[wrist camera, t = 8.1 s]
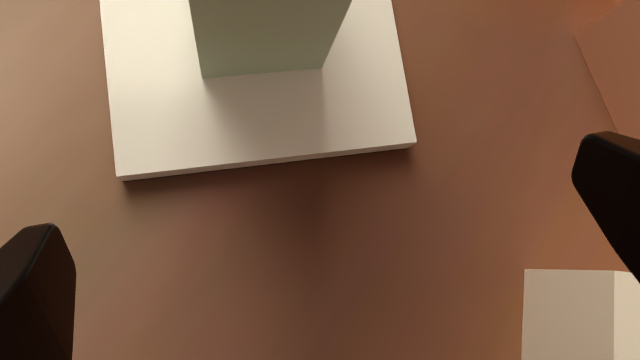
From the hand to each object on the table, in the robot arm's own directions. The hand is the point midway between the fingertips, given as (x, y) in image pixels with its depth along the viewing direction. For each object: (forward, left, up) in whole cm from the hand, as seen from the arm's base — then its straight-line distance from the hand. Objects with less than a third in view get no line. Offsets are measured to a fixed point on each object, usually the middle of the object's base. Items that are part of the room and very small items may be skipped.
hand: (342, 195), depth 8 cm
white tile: (+8, -1, -11) cm, 13 cm away
